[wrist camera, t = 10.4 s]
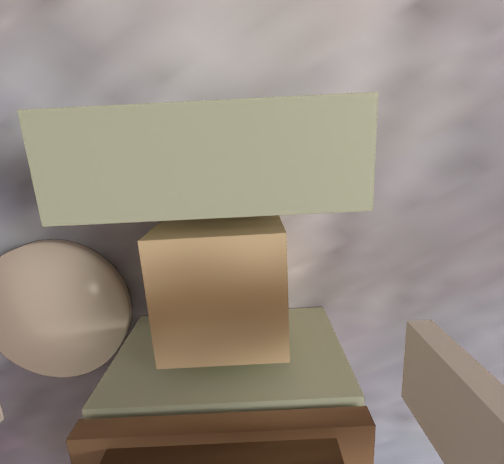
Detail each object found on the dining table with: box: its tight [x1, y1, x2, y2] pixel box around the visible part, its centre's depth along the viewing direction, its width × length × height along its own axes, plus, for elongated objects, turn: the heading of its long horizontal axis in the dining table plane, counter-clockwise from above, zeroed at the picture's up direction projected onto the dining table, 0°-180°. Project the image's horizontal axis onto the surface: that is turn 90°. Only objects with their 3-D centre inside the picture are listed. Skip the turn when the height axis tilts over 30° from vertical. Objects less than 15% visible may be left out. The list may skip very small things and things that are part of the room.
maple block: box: [138, 215, 290, 369], centre depth 17 cm, size 6×6×7 cm
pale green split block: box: [17, 92, 378, 419], centre depth 18 cm, size 24×12×8 cm, turn 3°
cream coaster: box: [0, 239, 132, 377], centre depth 21 cm, size 9×9×1 cm
